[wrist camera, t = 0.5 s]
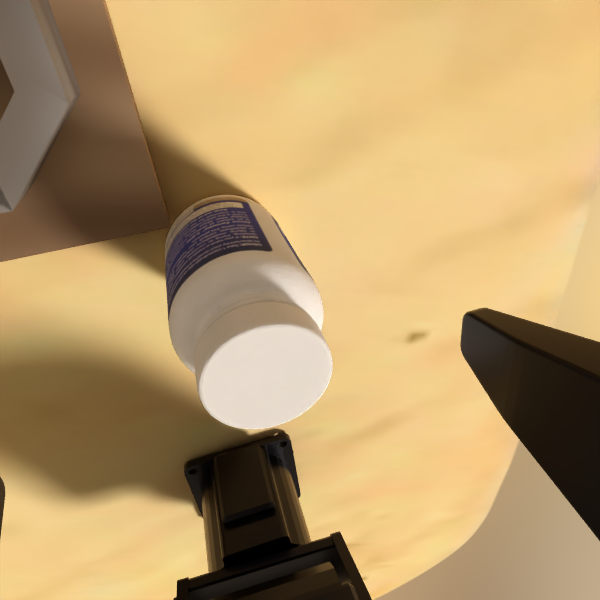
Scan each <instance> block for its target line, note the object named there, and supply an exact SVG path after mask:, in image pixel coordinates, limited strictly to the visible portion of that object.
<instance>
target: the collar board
mask: <svg viewBox="0 0 600 600" xmlns="http://www.w3.org/2000/svg"><path fill="white" fill-rule="evenodd" d="M167 227H170V223H169V216H168V212H167V209H166V205H165V202H164V199H163V195H162V192H161V188H160V185H159V182H158V178H157V175H156V171H155V168H154V165H153V161H152V158H151V154H150V151H149V148H148V144H147V141H146V137H145V134H144V131H143V127H142V124H141V120H140V117H139V114H138V110H137V107H136V103H135V100H134V97H133V93H132V90H131V86H130V83H129V80H128V76H127V73H126V69H125V66H124V63H123V59H122V56H121V52H120V49H119V46H118V42H117V39H116V35H115V32H114V29H113V25H112V22H111V18H110V15H109V12H108V8H107V5H106V1H105V0H0V262H3V261H8V260H13V259H17V258H22V257H27V256H32V255H37V254H42V253H46V252H51V251H56V250H61V249H66V248H71V247H75V246H80V245H85V244H90V243H95V242H99V241H104V240H109V239H114V238H119V237H124V236H128V235H133V234H138V233H143V232H148V231H153V230H157V229H162V228H167Z"/></svg>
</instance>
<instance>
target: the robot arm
mask: <svg viewBox="0 0 600 600" xmlns="http://www.w3.org/2000/svg"><path fill="white" fill-rule="evenodd" d="M461 351H462V354H463V356H464V358H465V360H466V361H467V363H468V364H469V366H470V367H471V369H472V371H473V372H474V374H475V375H476V377H477V378H478V380H479V382H480V383H481V385H482V386H483V388H484V390H485V391H486V393H487V394H488V396H489V397H490V399H491V401H492V402H493V404H494V405H495V407H496V408H497V410H498V411H499V413H500V414H501V416H502V417H503V419H504V420H505V421H506V423H507V424H508V425H509V427H510V428H511V429H512V430H513V432H514V433H515V434H516V436H517V437H518V438H519V439H520V441H521V442H522V443H523V444H524V446H525V447H526V448H527V449H528V451H529V452H530V453H531V454H532V456H533V457H534V458H535V459H536V461H537V462H538V463H539V464H540V466H541V467H542V468H543V470H544V471H545V472H546V473H547V475H548V476H549V477H550V478H551V480H552V481H553V482H554V484H555V485H556V486H557V487H558V489H559V490H560V491H561V492H562V494H563V495H564V496H565V498H566V499H567V500H568V501H569V503H570V504H571V505H572V506H573V507H574V509H575V510H576V511H577V512H578V514H579V515H580V516H581V518H582V519H583V520H584V521H585V523H586V524H587V525H588V527H589V528H590V529H591V530H592V532H593V533H594V534H595V535H596V537H597V538H598V539H599V541H600V342H597V341H594V340H591V339H587V338H584V337H581V336H578V335H574V334H571V333H568V332H564V331H561V330H558V329H554V328H551V327H548V326H544V325H541V324H538V323H535V322H531V321H528V320H525V319H521V318H518V317H515V316H511V315H508V314H505V313H501V312H498V311H495V310H492V309H488V308H480V309H476V310H473V311H469V312H467V313H465V315H464V317H463V321H462V333H461ZM184 473H185V476H186V479H187V481H188V483H189V486H190V488H191V491H192V493H193V495H194V498H195V500H196V503H197V505H198V507H199V510H200V512H201V514H202V517H203V519H204V529H205V540H206V550H207V560H208V571H209V573H207V574H204V575H200V576H197V577H194V578H190V579H189V578H188V577H187V578H184V579H180V580H177V597H176V598H174V600H372V599H371V597H370V595H369V592H368V590H367V588H366V586H365V584H364V582H363V580H362V578H361V575H360V573H359V571H358V569H357V567H356V565H355V563H354V561H353V558H352V556H351V554H350V552H349V550H348V548H347V546H346V544H345V541H344V539H343V537H342V535H341V533H340V531H339V532H336V533H332V534H330V536H329V537H326V538H322V539H319V540H316V541H312V542H311V539H310V536H309V532H308V529H307V526H306V522H305V519H304V516H303V513H302V509H301V506H300V503H299V499H298V498H299V497H300V488H299V483H298V477H297V472H296V466H295V461H294V456H293V450H292V445H291V440H290V437H289V435H287V434H279V435H276V436H272V437H269V438H266V439H262V440H259V441H256V442H252V443H249V444H246V445H242V446H239V447H235V448H232V449H229V450H225V451H222V452H219V453H215V454H212V455H209V456H205V457H202V458H199V459H195V460H192V461H189V462H187V463H186V464H185V466H184ZM4 500H5V486H4V483H3V480H2V479H1V477H0V537H1V527H2V518H3V509H4Z"/></svg>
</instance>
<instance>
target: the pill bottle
mask: <svg viewBox="0 0 600 600" xmlns="http://www.w3.org/2000/svg"><path fill="white" fill-rule="evenodd" d="M165 270H166V287H167V303H168V321H169V331H170V336H171V341H172V345H173V347H174V350H175V351H176V353H177V355H178V357H179V358H180V360H181V361H182V362H183V363H184V365H185V366H186V367H187V368H188V369H189V370H190V371H192V372H193V373H195V376H196V383H197V390H198V394H199V398H200V400H201V402H202V404H203V406H204V408H205V409H206V410H207V412H208V413H209V414H210V415H211V416H213V417H214V418H215V419H217V420H218V421H220V422H222V423H224V424H226V425H229V426H232V427H236V428H241V429H263V428H269V427H273V426H277V425H280V424H283V423H286V422H288V421H290V420H292V419H294V418H296V417H298V416H300V415H301V414H303V413H304V412H305V411H307V410H308V409H309V408H310V407H312V406H313V405H314V404H315V403H316V401H317V400H318V399H319V398H320V397H321V396H322V394H323V393H324V391H325V389H326V388H327V386H328V384H329V381H330V378H331V374H332V356H331V352H330V349H329V347H328V345H327V343H326V341H325V339H324V336H323V334H322V332H321V329H322V324H323V305H322V300H321V296H320V294H319V291H318V289H317V287H316V285H315V283H314V281H313V279H312V277H311V276H310V274H309V273H308V271H307V270H306V268H305V267H304V265H303V264H302V262H301V260H300V259H299V257H298V256H297V254H296V253H295V251H294V249H293V248H292V246H291V244H290V243H289V241H288V240H287V238H286V236H285V234H284V233H283V231H282V229H281V228H280V226H279V224H278V223H277V221H276V220H275V219H274V217H273V216H272V215H271V214H270V213H269V212H268V211H267V210H266V209H265V208H264V207H262V206H261V205H260V204H258V203H256V202H254V201H253V200H250V199H248V198H245V197H241V196H236V195H217V196H211V197H208V198H205V199H202V200H200V201H198V202H196V203H194V204H192V205H191V206H189V207H188V208H187V209H185V210H184V211H183V212H182V213H181V214H180V215H179V216H178V217H177V219H176V220H175V221H174V223H173V224H172V226H171V228H170V230H169V232H168V235H167V238H166V242H165Z"/></svg>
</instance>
